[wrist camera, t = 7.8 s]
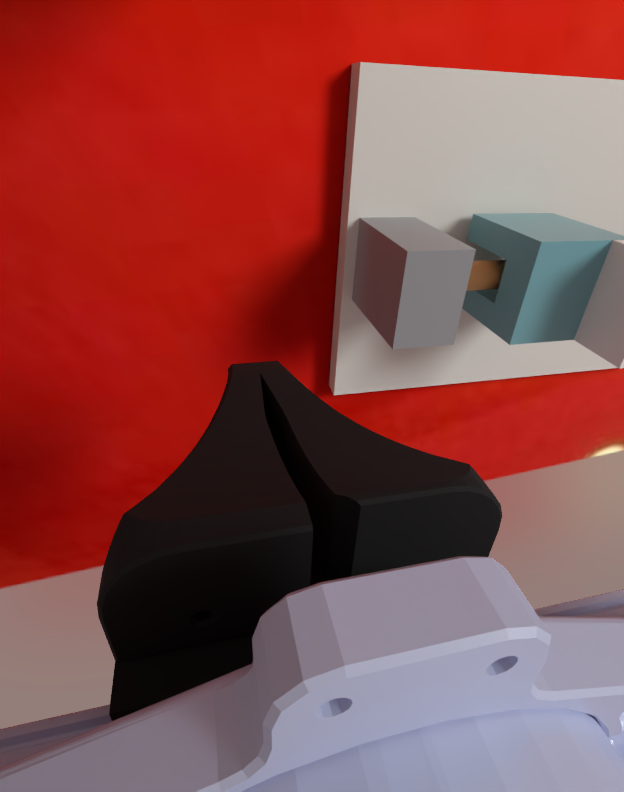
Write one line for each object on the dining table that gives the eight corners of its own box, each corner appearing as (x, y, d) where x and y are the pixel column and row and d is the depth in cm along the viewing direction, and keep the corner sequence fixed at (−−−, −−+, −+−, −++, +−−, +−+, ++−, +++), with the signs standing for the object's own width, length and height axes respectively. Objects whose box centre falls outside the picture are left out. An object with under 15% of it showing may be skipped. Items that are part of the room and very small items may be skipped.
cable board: (633, 357, 29) (724, 411, 24) (329, 385, 24) (365, 457, 19) (762, 91, 21) (936, 90, 16) (351, 63, 17) (421, 50, 12)
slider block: (526, 297, 23) (641, 366, 17) (453, 301, 22) (549, 375, 16) (552, 213, 20) (695, 259, 15) (473, 213, 19) (592, 262, 14)
